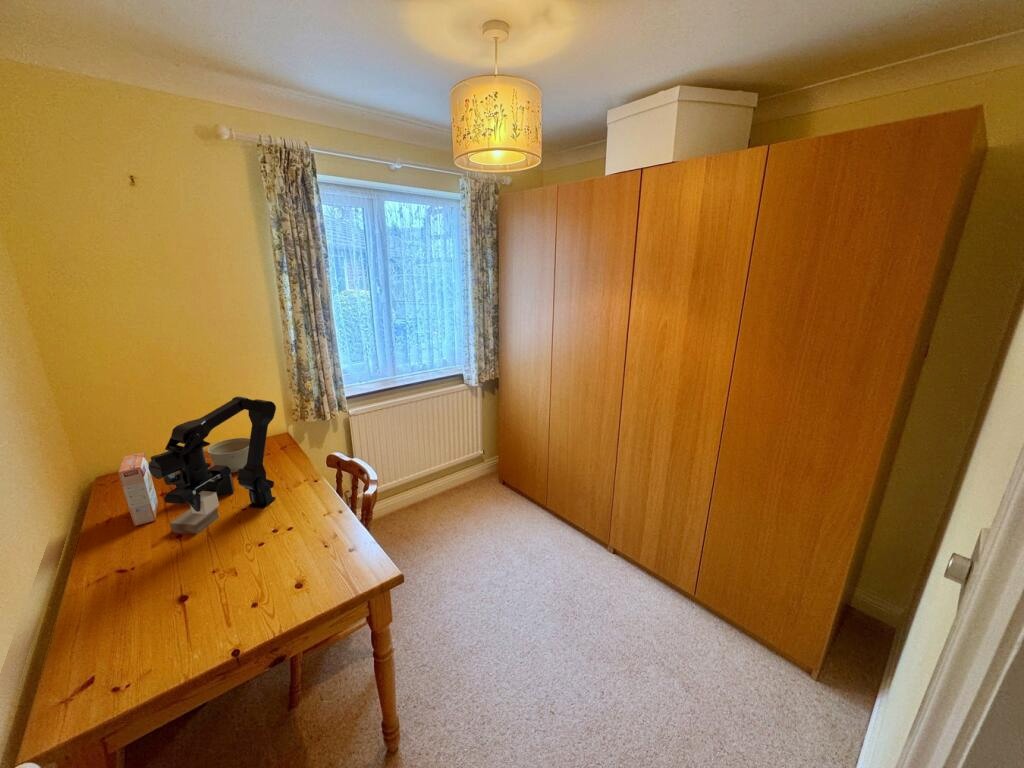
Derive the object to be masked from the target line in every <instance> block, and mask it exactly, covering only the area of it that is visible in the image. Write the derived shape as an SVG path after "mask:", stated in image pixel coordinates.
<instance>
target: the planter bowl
mask: <svg viewBox="0 0 1024 768" xmlns="http://www.w3.org/2000/svg"><path fill="white" fill-rule="evenodd" d="M249 443H250V437H249V438H248V437H235V438H228V439H224V440H221V441H218V442H216V443H213V444H212V445H209V447H208V448H207V450H206V451H207V453H208V456H209V459H210V460H211V462H212V463H213V465H214V464H216V465H222V466H228V467H229V468H230V470H231V474H233V473H237V472H238V470H239V469H243V468H244V466H245V465H246V464H247V458H248V450H249ZM232 456H233V457H232ZM230 457H231V458H230ZM228 458H229V459H228ZM226 459H227V460H226ZM223 460H225V461H223ZM221 461H222V462H221ZM219 462H220V463H219ZM217 463H218V464H217Z"/></svg>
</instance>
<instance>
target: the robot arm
mask: <svg viewBox="0 0 1024 768" xmlns="http://www.w3.org/2000/svg"><path fill="white" fill-rule="evenodd" d="M245 410H246V411H248V418H249V421H250V423H251V431H250V437H249V439H250V443H249V450H248V458H247V464H246V465H245V466H244V468H243V469H239V470H238V474H237V478H236V480H237V483H238V484H239V485H240V487H242V488H243V487H244V489H245V490H248V495H249V496H248V497H249V500H250V503H249V504H248V508H259V509H260V508H261V509H264V508H267V506H269V505H270V504H272V502H274V501H275V500H276V499H277V498H276V496H273V494H272V489H273V488H274V487H275V486H274V485H275V481H273V480H270V479H267V470H266V468H265V465H264V456H265V449H266V442H267V435H268V427H269V424H270V423H271V422H272V421H273V420H274V417H275V414H276V411H277V406H276V404H275V403H274V402H273V401H270V400H264V399H257V398H256V399H254V400H253V399H249V398H248V397H245V396H234V397H233V398H232V399H231V400H229V401H228V402H225V403H224V404H222V405H221V406H218V407H217V408H216V409H214V410H212V411H210V412H209V413H207V414H205V415H204V416H201V417H200V418H199V417H198V418H196V419H192V420H188V421H185V422H182V423H181V424H178V425H176V426H175V427H174V428H172V431H171V436H170V438H169V440H168V442H167V444H166V445H165V448H164V450H165V452H161V453H159V454H155V455H152V456H150V461H149V462H148V468H149V471H150V474H151V476H153V477H154V478H155V479H156V480H160V479H163V482H164V484H165V485H167V486H171V485H172V486H176V484H178V483H181V484H182V485H186V484H188V485H189V486H187V487H185V488H176V487H175V488H173V489H172V490H170V491H168V492H166V493H165V495H163V499H164V502H165V503H166V504H167V503H168V504H177V505H182V504H185V502H186V501H187V504H188V505H189V506H190V505H191V506H192V507H193V509H194V510H195V511H197V512H199V511H200V494H196V491H195V490H196V489H197V488H198V487H200V486H202V485H203V484H204V485H205V487H206V490H207V491H209V492H216V493H217V492H218V490H219V487H220V485H221V483H222V481H223V480H224V478H220V476H219V474H221V476H222V477H226V476H228V475H229V474H231V475H232V473H231V470H230V468H229V467H228V466H222V465H213V466H212V465H211V463H210V462H207V459H206V454H205V451H204V448H205V447H207V446H211V442H208V441H206V440H205V439H206V438H208V436H209V435H210V433H211V431H213V429H215V428H216V427H218V426H219V425H222V424H223V423H224V422H226V421H228V420H230V419H231V418H233V417H234V416H236V415H237V414H239V413H240V412H243V411H245ZM179 444H182V445H179ZM210 466H211V467H210ZM208 467H209V468H208Z"/></svg>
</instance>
